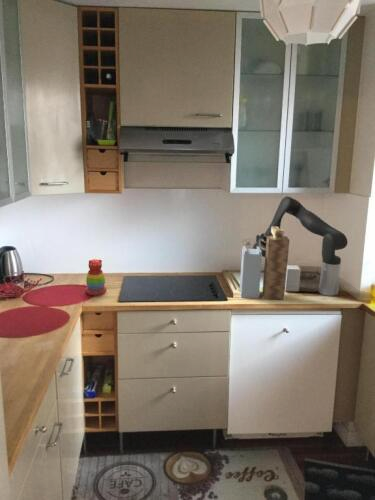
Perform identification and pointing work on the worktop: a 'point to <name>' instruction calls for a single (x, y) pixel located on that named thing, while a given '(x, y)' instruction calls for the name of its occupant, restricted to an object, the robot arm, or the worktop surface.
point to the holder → (250, 272)
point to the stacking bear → (95, 278)
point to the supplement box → (292, 278)
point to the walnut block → (275, 268)
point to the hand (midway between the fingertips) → (271, 235)
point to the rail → (277, 233)
